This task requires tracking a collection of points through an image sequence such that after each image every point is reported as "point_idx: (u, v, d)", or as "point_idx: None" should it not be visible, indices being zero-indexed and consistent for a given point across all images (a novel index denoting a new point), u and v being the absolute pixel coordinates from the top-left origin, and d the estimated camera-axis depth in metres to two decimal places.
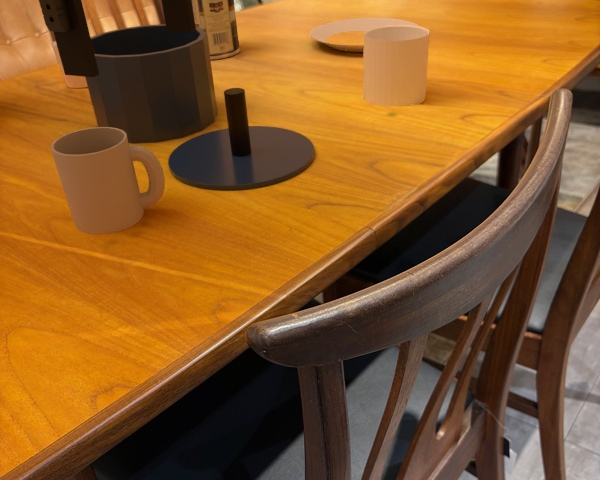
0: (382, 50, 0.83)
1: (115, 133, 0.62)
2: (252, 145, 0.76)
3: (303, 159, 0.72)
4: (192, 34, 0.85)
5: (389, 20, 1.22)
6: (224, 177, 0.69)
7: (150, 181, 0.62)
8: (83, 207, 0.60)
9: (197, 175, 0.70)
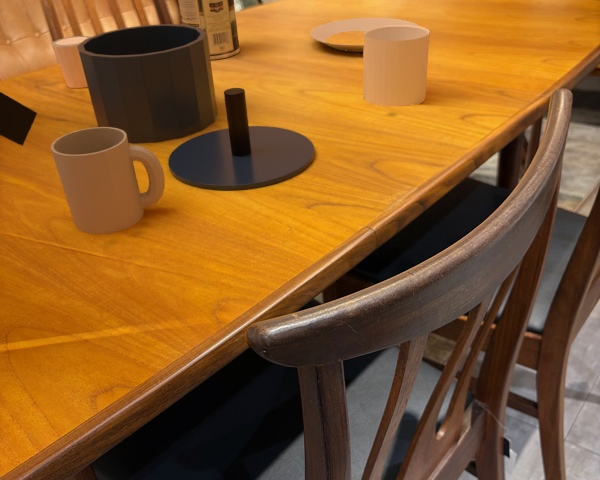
0: (382, 50, 0.83)
1: (115, 133, 0.62)
2: (252, 145, 0.76)
3: (303, 159, 0.72)
4: (192, 34, 0.85)
5: (389, 20, 1.22)
6: (224, 177, 0.69)
7: (150, 181, 0.62)
8: (83, 207, 0.60)
9: (197, 175, 0.70)
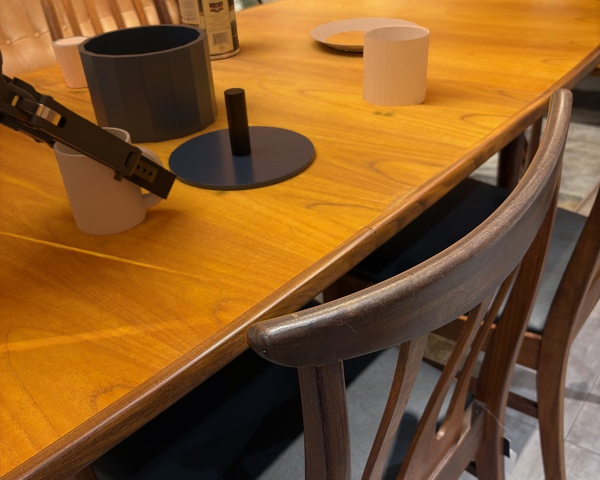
0: (382, 50, 0.83)
1: (118, 134, 0.62)
2: (252, 145, 0.76)
3: (303, 159, 0.72)
4: (192, 34, 0.85)
5: (389, 20, 1.22)
6: (224, 177, 0.69)
7: None
8: (85, 207, 0.60)
9: (197, 175, 0.70)
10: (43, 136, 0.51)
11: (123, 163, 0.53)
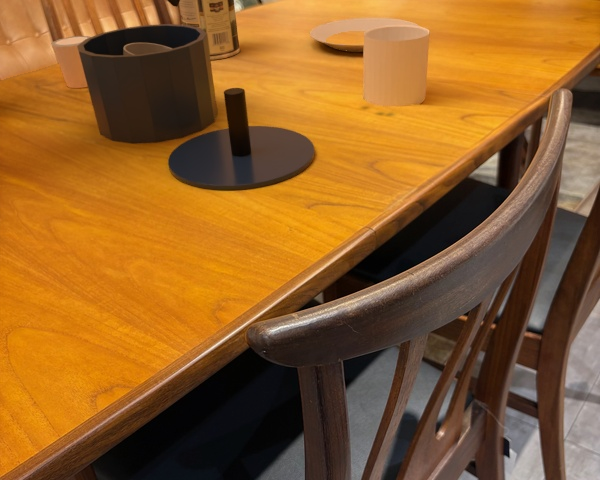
0: (382, 50, 0.83)
1: None
2: (252, 145, 0.76)
3: (303, 159, 0.72)
4: (192, 34, 0.85)
5: (389, 20, 1.22)
6: (224, 177, 0.69)
7: None
8: None
9: (197, 175, 0.70)
10: None
11: None
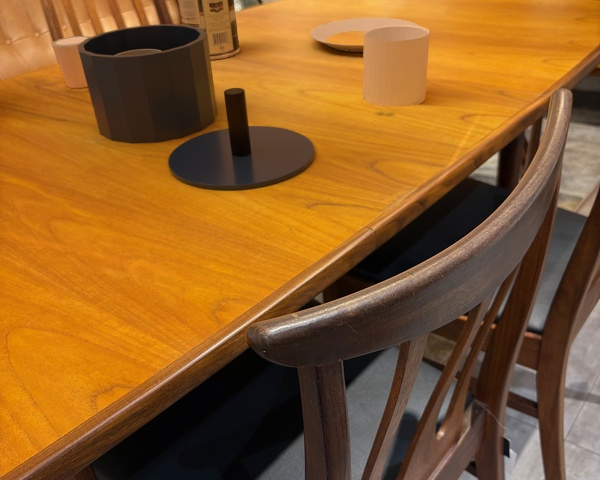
0: (382, 50, 0.83)
1: None
2: (252, 145, 0.76)
3: (303, 159, 0.72)
4: (192, 34, 0.85)
5: (389, 20, 1.22)
6: (224, 177, 0.69)
7: None
8: None
9: (197, 175, 0.70)
10: None
11: None
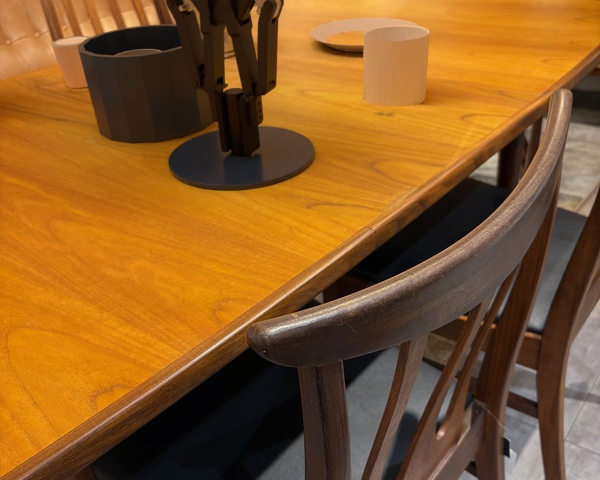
0: (382, 50, 0.83)
1: None
2: None
3: (303, 159, 0.72)
4: None
5: (389, 20, 1.22)
6: (224, 177, 0.69)
7: None
8: None
9: (197, 175, 0.70)
10: (238, 29, 0.64)
11: (268, 82, 0.67)
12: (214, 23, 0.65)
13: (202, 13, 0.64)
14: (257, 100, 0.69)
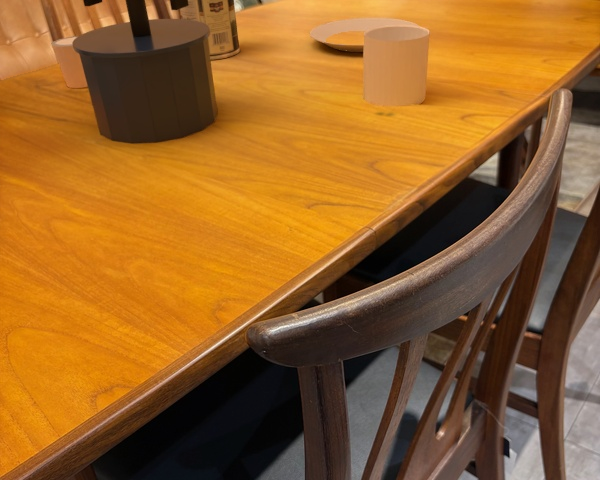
0: (382, 50, 0.83)
1: None
2: (154, 30, 0.82)
3: (195, 36, 0.78)
4: None
5: (389, 20, 1.22)
6: (119, 48, 0.75)
7: None
8: None
9: (95, 48, 0.76)
10: None
11: None
12: None
13: None
14: None
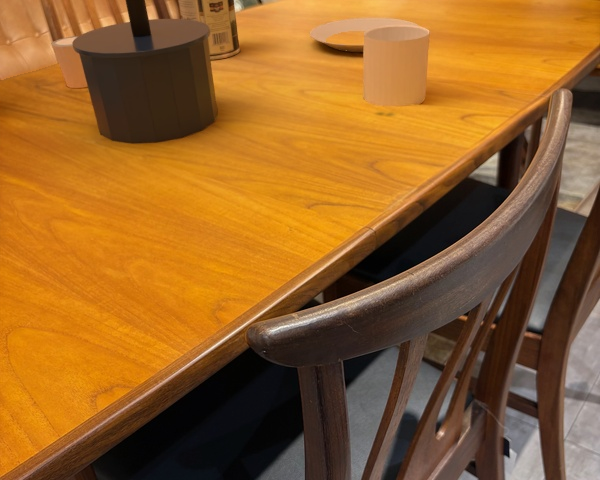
0: (382, 50, 0.83)
1: None
2: (154, 30, 0.82)
3: (195, 36, 0.78)
4: None
5: (389, 20, 1.22)
6: (119, 48, 0.75)
7: None
8: None
9: (95, 48, 0.76)
10: None
11: None
12: None
13: None
14: None
